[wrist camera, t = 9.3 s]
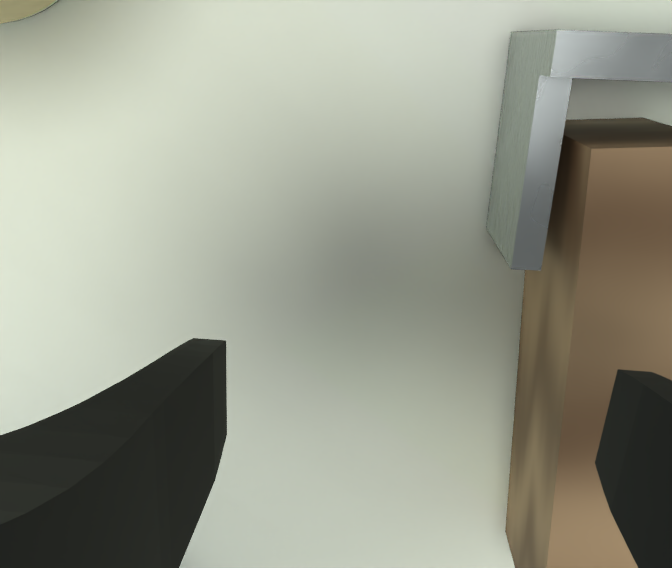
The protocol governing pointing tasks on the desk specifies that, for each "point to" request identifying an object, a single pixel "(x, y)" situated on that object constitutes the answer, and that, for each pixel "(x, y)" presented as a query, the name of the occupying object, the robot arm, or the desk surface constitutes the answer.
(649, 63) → the bracket
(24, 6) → the coffee cup
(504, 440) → the desk surface
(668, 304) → the walnut rail
